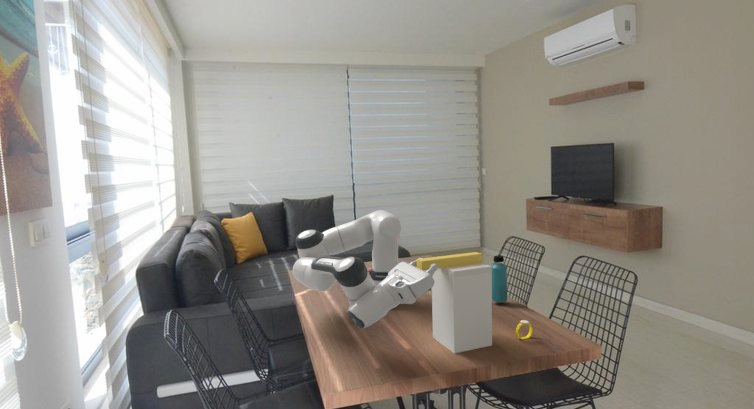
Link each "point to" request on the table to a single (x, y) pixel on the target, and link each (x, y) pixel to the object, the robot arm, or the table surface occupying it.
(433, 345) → the table surface
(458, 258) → the mustard bar
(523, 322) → the gold ring
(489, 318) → the off-white stand
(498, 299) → the beverage bottle
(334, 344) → the table surface
